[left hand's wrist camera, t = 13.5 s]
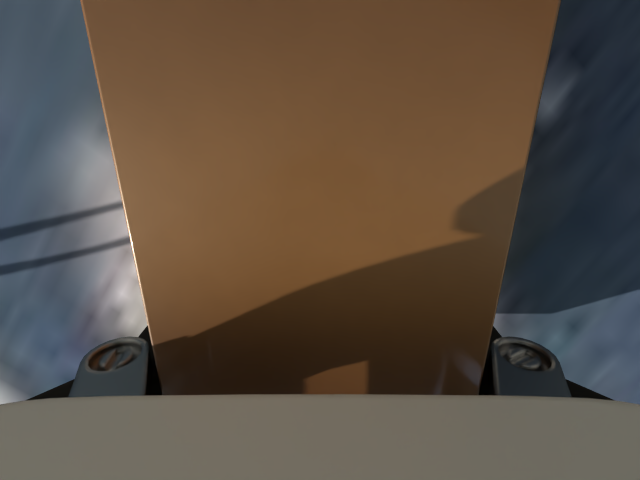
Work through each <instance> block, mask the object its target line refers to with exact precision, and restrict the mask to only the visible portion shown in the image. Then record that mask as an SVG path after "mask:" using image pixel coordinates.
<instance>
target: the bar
mask: <svg viewBox="0 0 640 480" xmlns="http://www.w3.org/2000/svg"><path fill="white" fill-rule="evenodd" d="M80 1H81V5H82V10H83V15H84V20H85V25H86V30H87V34H88V39H89V44H90V49H91V54H92V59H93V63H94V68H95V73H96V78H97V83H98V87H99V92H100V97H101V102H102V107H103V112H104V116H105V121H106V126H107V131H108V136H109V141H110V145H111V150H112V155H113V160H114V165H115V170H116V174H117V179H118V184H119V189H120V194H121V199H122V203H123V208H124V213H125V218H126V223H127V228H128V232H129V237H130V242H131V247H132V252H133V256H134V261H135V266H136V271H137V276H138V281H139V285H140V290H141V295H142V300H143V305H144V310H145V314H146V319H147V324H148V329H149V334H150V339H151V343H152V348H153V353H154V358H155V363H156V368H157V372H158V377H159V382H160V387H161V392H162V395H244V394H381V395H479V390H480V385H481V381H482V376H483V371H484V366H485V361H486V357H487V352H488V347H489V342H490V338H491V333H492V328H493V323H494V318H495V314H496V309H497V304H498V299H499V295H500V290H501V285H502V280H503V275H504V271H505V266H506V261H507V256H508V252H509V247H510V242H511V237H512V232H513V228H514V223H515V218H516V213H517V208H518V204H519V199H520V194H521V189H522V185H523V180H524V175H525V170H526V165H527V161H528V156H529V151H530V146H531V142H532V137H533V132H534V127H535V122H536V118H537V113H538V108H539V103H540V99H541V94H542V89H543V84H544V79H545V75H546V70H547V65H548V60H549V55H550V51H551V46H552V41H553V36H554V32H555V27H556V22H557V17H558V12H559V8H560V3H561V0H80Z"/></svg>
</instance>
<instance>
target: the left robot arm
mask: <svg viewBox="0 0 640 480" xmlns="http://www.w3.org/2000/svg"><path fill="white" fill-rule="evenodd" d="M0 480H640V405H638V404H633V403H627V402H621V401H615V400H612V399H610V398H608V397H605V396H603V395H601V394H599V393H596V392H594V391H592V390H589V389H587V388H585V387H582V386H580V385H578V384H576V383H573V382H571V381H569V380H566V379H565V377H564V374H563V371H562V368H561V365H560V362H559V361H558V359H557V357H556V356H555V355H554V354H553V353H552V352H551V351H549V350H548V349H546V348H545V347H543V346H542V345H540V344H537V343H535V342H533V341H530V340H527V339H523V338H518V337H502V336H501V335H500V334H499V333H498V331H497V330H496V329H495V328H494V326H493V328H492V333H491V338H490V342H489V347H488V352H487V357H486V361H485V366H484V371H483V376H482V381H481V385H480V390H479V395H381V394H244V395H162V392H161V387H160V382H159V377H158V372H157V368H156V363H155V358H154V353H153V348H152V343H151V339H150V334H149V329H148V326H147V327H146V328H145V329H144V331H143V332H142V333H141V334H140V336H139V337H122V338H117V339H113V340H110V341H107V342H105V343H103V344H100V345H98V346H97V347H95V348H94V349H92V350H91V351H89V352H88V353H87V354H86V355H85V356H84V357H83V359H82V361H81V362H80V365H79V368H78V371H77V374H76V377H75V379H74V380H72V381H69V382H67V383H65V384H62V385H60V386H58V387H55V388H53V389H51V390H49V391H46V392H44V393H42V394H39V395H37V396H35V397H33V398H30V399H28V400H26V401H19V402H13V403H7V404H1V405H0Z"/></svg>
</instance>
